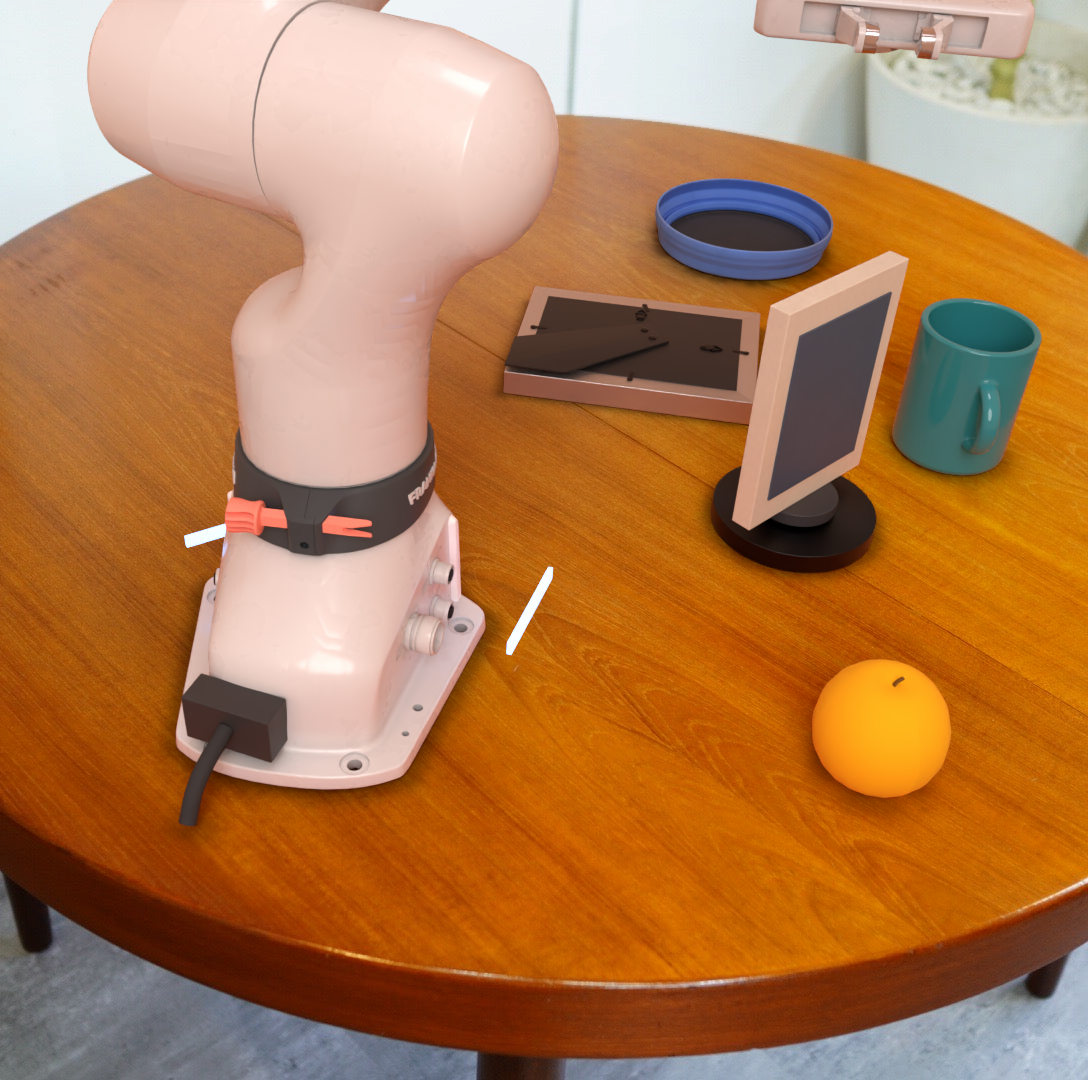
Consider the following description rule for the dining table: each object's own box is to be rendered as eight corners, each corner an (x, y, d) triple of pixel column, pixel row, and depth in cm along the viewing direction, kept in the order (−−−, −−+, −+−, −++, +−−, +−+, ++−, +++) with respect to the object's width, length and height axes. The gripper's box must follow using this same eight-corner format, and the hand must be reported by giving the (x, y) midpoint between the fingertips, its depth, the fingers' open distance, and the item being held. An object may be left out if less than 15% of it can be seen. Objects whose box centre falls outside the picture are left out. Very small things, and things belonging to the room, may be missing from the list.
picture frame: (503, 393, 110) (751, 425, 108) (504, 363, 108) (756, 395, 107) (533, 306, 123) (757, 333, 121) (535, 278, 121) (761, 305, 119)
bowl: (852, 283, 130) (859, 250, 128) (674, 288, 127) (678, 254, 125) (797, 207, 144) (802, 175, 142) (636, 209, 141) (639, 177, 139)
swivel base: (878, 582, 93) (882, 565, 92) (708, 562, 94) (711, 545, 93) (866, 485, 102) (870, 469, 102) (712, 467, 103) (714, 451, 102)
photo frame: (880, 488, 99) (937, 270, 88) (771, 557, 92) (818, 328, 81) (816, 453, 102) (863, 238, 91) (706, 517, 95) (743, 291, 84)
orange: (792, 717, 82) (814, 627, 77) (917, 721, 82) (946, 631, 78) (815, 818, 76) (840, 727, 71) (950, 821, 76) (984, 730, 71)
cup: (910, 499, 101) (946, 373, 94) (879, 414, 111) (910, 294, 104) (1026, 504, 102) (1070, 379, 95) (986, 419, 111) (1023, 300, 104)
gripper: (757, -64, 103) (758, -15, 92) (1023, -41, 101) (1056, 12, 90) (745, 19, 106) (745, 76, 96) (1001, 42, 105) (1030, 103, 94)
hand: (898, 45), depth 93 cm, fingers open, 3 cm apart
